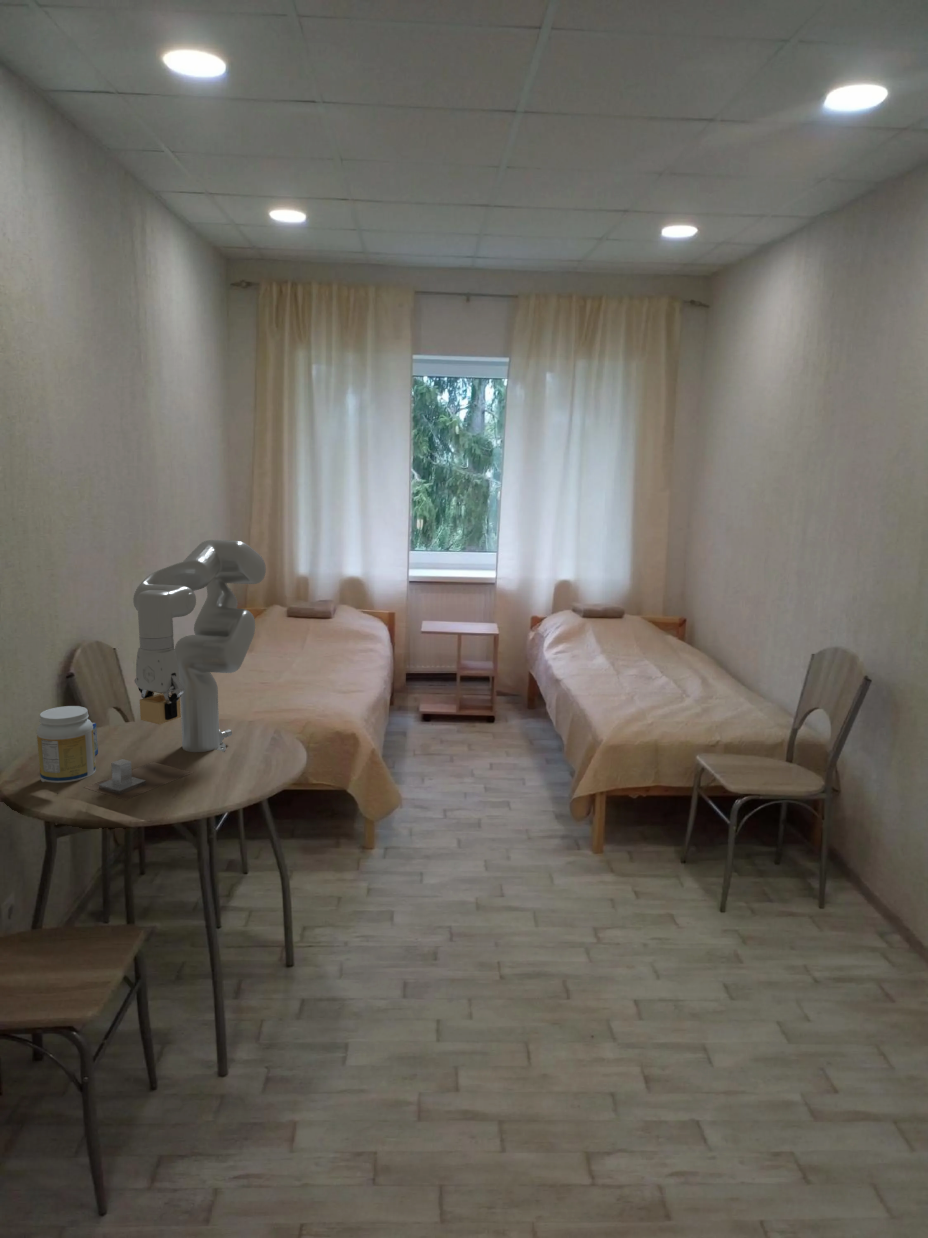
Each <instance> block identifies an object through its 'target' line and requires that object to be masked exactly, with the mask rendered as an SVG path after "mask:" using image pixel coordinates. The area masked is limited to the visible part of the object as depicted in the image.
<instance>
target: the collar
mask: <svg viewBox="0 0 928 1238" xmlns="http://www.w3.org/2000/svg"><path fill="white" fill-rule="evenodd" d="M171 695H172V694H171ZM171 695H170V694H169V696H170V697H171ZM165 704H166V700H165V697H164V694H163V693H157V694H154V695H153V696H150V697H147V698H144V699H143V698H141V699H139V712H140V713H139V714H140V721H143V722H149V723H151V724H157V725H162V724H165V723H168V722H171V721H173V720H174V721H175V720H176V719H179V718H181V700H180V698H179V701H177V717H176V718H173V719H170V720H166V719H165Z"/></svg>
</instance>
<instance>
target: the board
mask: <svg viewBox="0 0 928 1238" xmlns="http://www.w3.org/2000/svg"><path fill="white" fill-rule="evenodd" d="M131 771H132V777H135V778H138V779H142V780H145V781H146V785H144V786H141V787H139V788H136V789H134V790H131V791H129V792H126V793H123V794H121V795H119V794H116V793H112V792H109V791H106V790H102V789H99V784H101V783H104V782H106V781H109V780H112V776H111V777H109V778H106V779H104V780H100V781H97V782H95V783H92V784H90V785H87V786H84V787H83V789H87V790H91V791H94V792H97V793H100V794H104V795H107V796H110V797H114V798H116V799H120V800H123V801H127V800H129V799H132V798H134V797H137V796H139V795H141V794H144V793H147V792H149V791H151V790H154V789H157V788H159V787H161V786H164V785H166V784H168V783H171V782H174V781H176V780H178V779H182V778H185V777H187V776H189V775H192V774H194V772H193V771H189V770H185V769H181V768H177V767H174V766H170V765H166V764H164V763H163V764H162V763H159V762H155V761H152V762H149V763H147V764H144V765H141V766H139V767H135V768H133V769H131Z"/></svg>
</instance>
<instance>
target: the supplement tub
mask: <svg viewBox="0 0 928 1238" xmlns="http://www.w3.org/2000/svg"><path fill="white" fill-rule="evenodd" d="M89 716H90V715H89V713H88V708H87V707H83V706H80V705H66V706H57V707H53V708H48V709H46V710H43V711H42V712H40V714H39V723H40V724H39V725H38V726H37V730H36V739H37V752H38V753H37V754H38V764H39V766H38V767H39V774H40V775H39V777H40V778H39V779H40V780H41V782H42V783H45V782H47V783H59V784H60V783H71V782H75V781H76V782H77V781H80V780H83V779H86V778H89V777H91V776H93V775H94V774H95V773H96V772H97V769H96V755H95V751H94V735H93V724H92V723H93V722H92V721H91V720H90V719H89Z"/></svg>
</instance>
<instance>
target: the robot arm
mask: <svg viewBox="0 0 928 1238" xmlns="http://www.w3.org/2000/svg"><path fill="white" fill-rule="evenodd" d="M266 570H267V568H266V563H265V560H264V558H263V557H262V556H261V554H260V553H259V552H257V551H256V550H255V549H254V548H252V547H251V546H250V545H249V544H247V543H246V542H243V541H240V540H226V539H208V540H205V541H202V542H201V543H199V545H197V546H196V548H195V549H193V550H192V552H191V553H190V554H189V555H188V556H187V557H186V558H185V559H184V560H182V561H181V562H178V563H174V564H172V565H168V566H167V567H164V568H162V569H159V570H156V571H154V572H152V573H151V574H149V575H148V576H146V577H145V578H144V580H143V581H141V582H140V583H139V585H138V586H137V587H136V589H135V591H134V594H133V598H132V599H133V602H132V603H133V607H134V608H135V610H136V611H137V618H138V620H137V621H138V634H139V635H138V636H139V637H138V639H139V647H138V648H137V653H136V662H135V666H136V667H135V677H136V678H135V679H134V684H135V685H136V687H137V688H138V691H139V692H140V696H141V699H144V698H147V697H150V696H153V695H155V693H157V694H160V693H162V694H164V697H165V700H166V704H165V719H166V720H170V719H173V718H176V717H177V701H179V698H180V710H181V717H180V718H181V719H180V722H181V740H182V741H181V742H182V743H181V744H182V745H181V747H182V749H183V751H186V752H190V753H203V752H210V751H213V750H217V751H220V752H223V753H224V752H225V751H226V749H227V747H226V743H225V742H223V740H224V739H225V738H228V737H231V736H233V731H232V730H231V729H230V728H229V729H225V730H223V731H222V730H221V729H220V722H219V721H220V720H219V718H220V717H219V688H218V684H217V681H216V679H215V678H214V676H213V674H212V673H219V674H229V673H230V674H232V673H236V672H237V671H238V670H240V668H241V667H242V664H243V663H244V660H245V657H246V656H247V653H248V651H249V649H250V646H251V644H252V641H253V640H254V636H255V633H256V632H255V631H256V620H255V616H254V614H253V613H252V612H251V611H250V610H248V609H245V608H238V603H239V602H238V599H237V597H236V595H235V593H234V592H233V590H232V589H231V588H229V586H228V584H237V585H238V584H239V585H240V584H241V585H257V584H260V583H261V582H263V580H264V578H265V576H266ZM204 588H206V594H207V595H206V599H205V600H204V602H203V605H202V607H201V609H200V611H199V613H198V615H197V617H196V619H195V622H194V625H193V632H194V634H192V635H185V636H183V637H181V638H179V640H177V642H176V644H175V643H174V642H175V640H174V639H175V638H174V625H173V624H174V623H173V622H174V621H173V619H174V618H179V617H180V618H181V617H185V616H188V615H189V614H191V613H192V612H193V611H194V609H195V607H196V605H197V596H196V593H195V592H196V591H198V590H199V591H200V590H202V589H204ZM170 694H171V697H170V696H169V695H170Z"/></svg>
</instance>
